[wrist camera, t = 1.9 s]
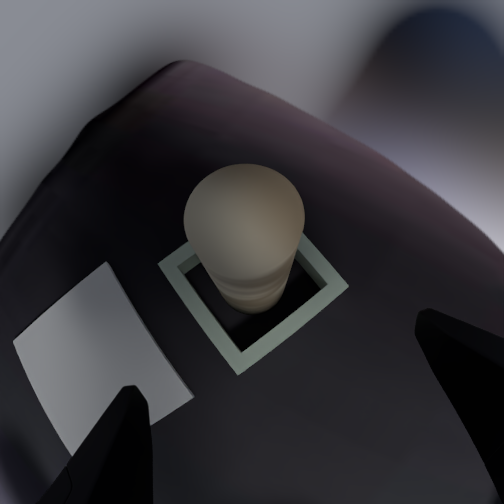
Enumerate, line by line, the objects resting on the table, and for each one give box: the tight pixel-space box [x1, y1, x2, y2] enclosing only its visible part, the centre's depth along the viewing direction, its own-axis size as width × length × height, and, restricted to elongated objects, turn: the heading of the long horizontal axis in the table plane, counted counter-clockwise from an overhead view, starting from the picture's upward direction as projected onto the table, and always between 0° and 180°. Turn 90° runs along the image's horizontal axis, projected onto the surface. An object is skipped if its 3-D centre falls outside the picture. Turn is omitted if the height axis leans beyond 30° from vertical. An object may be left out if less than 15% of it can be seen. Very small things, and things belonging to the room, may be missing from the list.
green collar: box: [158, 233, 349, 375], centre depth 21 cm, size 9×9×2 cm
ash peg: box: [184, 164, 305, 315], centre depth 17 cm, size 4×4×11 cm
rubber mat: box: [13, 262, 195, 456], centre depth 20 cm, size 12×12×1 cm
